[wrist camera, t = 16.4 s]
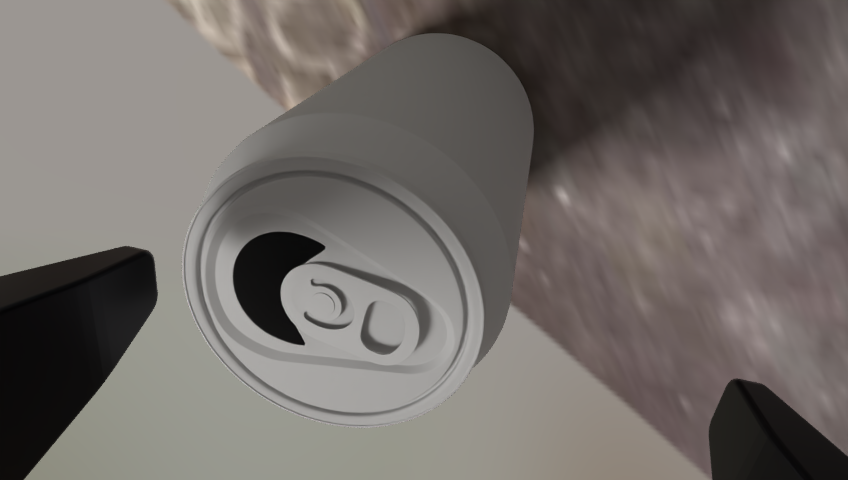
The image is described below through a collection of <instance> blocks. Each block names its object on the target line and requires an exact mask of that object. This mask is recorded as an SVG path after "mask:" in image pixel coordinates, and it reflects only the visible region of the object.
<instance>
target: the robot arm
mask: <svg viewBox="0 0 848 480" xmlns="http://www.w3.org/2000/svg"><path fill="white" fill-rule="evenodd" d="M157 296H158V292H157V282H156V272H155V263H154V257H153V255H152V254H151V253H150V252H149V251H147V250H143V249H139V248H134V247H130V246H123V247H119V248H114V249H111V250H107V251H102V252H98V253H94V254H90V255H86V256H82V257H78V258H73V259H70V260H65V261H61V262H57V263H53V264H49V265H45V266H41V267H37V268H33V269H28V270H24V271H20V272H16V273H12V274H8V275H4V276H0V480H24V479H25V478H26V476H27V475H28V474H29V473H30V472H31V470H32V469H33V468H34V467H35V465H36V464H37V463H38V462H39V461H40V460H41V458H42V457H43V456H44V455H45V454H46V452H47V451H48V450H49V449H50V447H51V446H52V445H53V444H54V443H55V442H56V440H57V439H58V438H59V437H60V435H61V434H62V433H63V432H64V431H65V430H66V428H67V427H68V426H69V425H70V424H71V422H72V421H73V420H74V419H75V417H76V416H77V415H78V414H79V413H80V411H81V410H82V409H83V408H84V407H85V405H86V404H87V403H88V402H89V401H90V399H91V398H92V397H93V396H94V395H95V393H96V392H97V391H98V389H99V388H100V387H101V386H102V384H103V383H104V382H105V380H106V379H107V377H108V376H109V375H110V373H111V372H112V371H113V369H114V368H115V366H116V365H117V363H118V362H119V360H120V359H121V357H122V356H123V354H124V353H125V351H126V350H127V348H128V347H129V345H130V344H131V342H132V341H133V339H134V338H135V336H136V335H137V333H138V332H139V330H140V329H141V327H142V326H143V324H144V323H145V321H146V320H147V318H148V317H149V315H150V314H151V312H152V311H153V309H154V307H155V305H156V301H157ZM709 446H710V458H711V470H712V480H848V456H847V455H846V454H844V453H843V452H842V451H841V450H840V449H839V448H837V447H836V446H835V445H834V444H833V443H832V442H830V441H829V440H828V439H827V438H826V437H825V436H823V435H822V434H821V433H820V432H819V431H818V430H816V429H815V428H814V427H813V426H812V425H811V424H809V423H808V422H807V421H806V420H805V419H804V418H802V417H801V416H800V415H799V414H798V413H797V412H795V411H794V410H793V409H792V408H791V407H790V406H788V405H787V404H786V403H785V402H784V401H783V400H781V399H780V398H779V397H778V396H777V395H776V394H774V393H773V392H772V391H771V390H770V389H769V388H767V387H766V386H765V385H763V384H761V383H756V382H752V381H747V380H742V379H736V378H735V379H733V380H731V381H730V382H729V383H728V384H727V386H726V388H725V390H724V393H723V395H722V397H721V399H720V401H719V404H718V406H717V408H716V410H715V413H714V415H713V417H712V419H711V422H710V426H709Z"/></svg>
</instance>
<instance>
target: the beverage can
mask: <svg viewBox="0 0 848 480" xmlns="http://www.w3.org/2000/svg"><path fill="white" fill-rule="evenodd" d="M533 138H534V123H533V115H532V110H531V106H530V103H529V100H528V97H527V94H526V92H525V90H524V88H523V86H522V84H521V82H520V80H519V79H518V77H517V76H516V74H515V73H514V72H513V70H512V69H511V68H510V67H509V66H508V65H507V64H506V63H505V62H504V60H502V59H501V58H500V57H499V56H498V55H497V54H495V53H494V52H493V51H491V50H490V49H488V48H486V47H485V46H483V45H481V44H479V43H477V42H475V41H473V40H470V39H468V38H465V37H461V36H457V35H452V34H443V33H428V34H421V35H415V36H411V37H408V38H405V39H402V40H400V41H397V42H395V43H394V44H392V45H390V46H388V47H387V48H385V49H384V50H382V51H380V52H379V53H377V54H376V55H374V56H373V57H371V58H370V59H368V60H366V61H365V62H363V63H362V64H360V65H359V66H357V67H356V68H354V69H353V70H351V71H349V72H348V73H346V74H345V75H343V76H342V77H340V78H339V79H337V80H335V81H334V82H332V83H331V84H329V85H328V86H326V87H325V88H323V89H321V90H320V91H318V92H317V93H315V94H314V95H312V96H311V97H309V98H307V99H306V100H304V101H303V102H301V103H300V104H298V105H297V106H295V107H293V108H292V109H290V110H289V111H287V112H286V113H284V114H283V115H281V116H279V117H278V118H276V119H275V120H273V121H272V122H270V123H269V124H267V125H265V126H264V127H262V128H261V129H259V130H258V131H256V132H255V133H253V134H252V135H250V136H248V137H247V138H246V139H244V140H243V141H242V142H241V143H240V144H239V145H238V146H237V147H236V148H235V149H234V150H233V151H232V152H231V153H230V154H229V155H228V157H227V158H226V159H225V160H224V161H223V162H222V164H221V165H220V166H219V167H218V169H217V170H216V171H215V173H214V175H213V177H212V179H211V181H210V183H209V185H208V187H207V190H206V193H205V195H204V198H203V202H202V204H201V205H200V207H199V208H198V209H197V211H196V213H195V215H194V217H193V219H192V221H191V223H190V226H189V228H188V231H187V234H186V238H185V242H184V247H183V254H182V277H183V285H184V289H185V295H186V299H187V303H188V306H189V308H190V311H191V314H192V316H193V318H194V321H195V323H196V325H197V327H198V329H199V331H200V333H201V334H202V336H203V338H204V339H205V341H206V343H207V344H208V346H209V347H210V349H211V350H212V351H213V352H214V354H215V355H216V356H217V358H218V359H219V360H220V361H221V362H222V363H223V365H224V366H225V367H226V368H227V369H228V370H229V371H230V372H231V373H232V374H233V375H234V376H236V378H238V379H239V380H240V381H241V382H242V383H243V384H245V385H246V386H247V387H248V388H250V389H251V390H253V391H254V392H255V393H256V394H258V395H259V396H261V397H262V398H264V399H266V400H268V401H269V402H271V403H273V404H274V405H276V406H278V407H280V408H282V409H284V410H286V411H289V412H291V413H293V414H296V415H298V416H301V417H303V418H307V419H310V420H314V421H317V422H321V423H325V424H330V425H336V426H344V427H357V428H364V427H365V428H366V427H367V428H368V427H381V426H387V425H393V424H397V423H402V422H405V421H408V420H411V419H413V418H416V417H419V416H421V415H423V414H425V413H427V412H429V411H431V410H432V409H434V408H436V407H437V406H439V405H440V404H442V403H443V402H444V401H446V400H447V399H448V398H449V397H450V396H452V394H454V393H455V392H456V390H457V389H458V388H459V387H460V386H461V384H462V383H463V382H464V381H465V380H466V378H467V377H468V375H469V373H470V371H471V370H472V368H473V367H475V366H476V365H477V364H478V363H479V362H480V361H481V360H482V358H483V357H484V356H485V355H486V354H487V353H488V351H489V350H490V349H491V347H492V346H493V344H494V343H495V341H496V339H497V337H498V335H499V333H500V332H501V330H502V328H503V325H504V323H505V320H506V316H507V313H508V309H509V305H510V301H511V294H512V287H513V280H514V273H515V266H516V259H517V252H518V245H519V238H520V231H521V224H522V217H523V210H524V203H525V196H526V189H527V182H528V175H529V168H530V161H531V154H532V147H533Z"/></svg>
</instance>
